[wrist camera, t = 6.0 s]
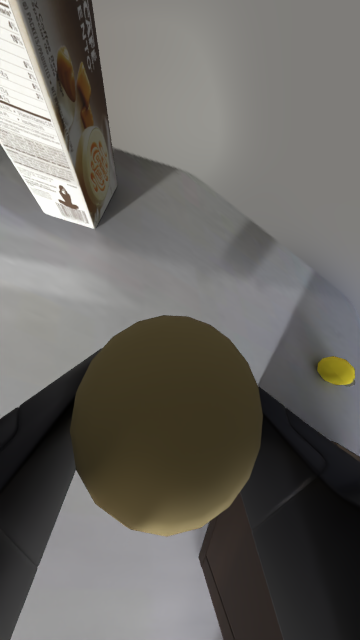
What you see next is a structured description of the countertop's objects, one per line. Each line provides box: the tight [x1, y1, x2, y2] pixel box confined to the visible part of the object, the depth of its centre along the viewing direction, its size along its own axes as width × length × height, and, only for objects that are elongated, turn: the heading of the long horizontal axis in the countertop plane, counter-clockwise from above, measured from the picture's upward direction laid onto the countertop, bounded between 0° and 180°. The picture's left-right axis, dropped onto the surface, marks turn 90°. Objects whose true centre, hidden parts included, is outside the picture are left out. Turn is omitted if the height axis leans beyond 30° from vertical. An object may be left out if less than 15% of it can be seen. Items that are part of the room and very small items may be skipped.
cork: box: [70, 315, 263, 536], centre depth 8 cm, size 6×6×11 cm
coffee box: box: [0, 0, 117, 229], centre depth 14 cm, size 9×6×16 cm
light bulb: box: [317, 356, 355, 387], centre depth 21 cm, size 3×6×4 cm, turn 66°
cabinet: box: [199, 441, 360, 640], centre depth 12 cm, size 14×13×9 cm
